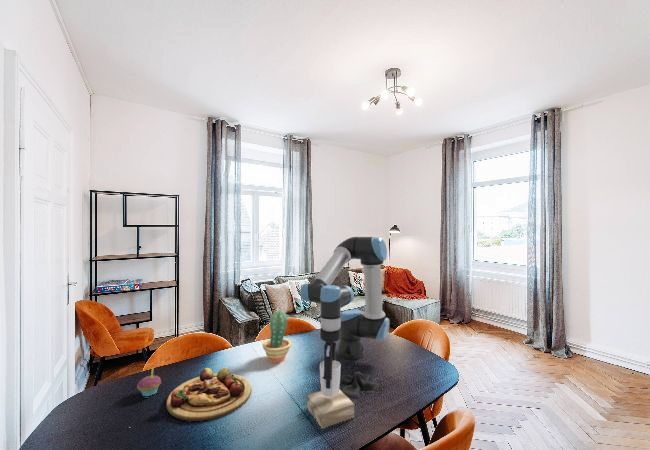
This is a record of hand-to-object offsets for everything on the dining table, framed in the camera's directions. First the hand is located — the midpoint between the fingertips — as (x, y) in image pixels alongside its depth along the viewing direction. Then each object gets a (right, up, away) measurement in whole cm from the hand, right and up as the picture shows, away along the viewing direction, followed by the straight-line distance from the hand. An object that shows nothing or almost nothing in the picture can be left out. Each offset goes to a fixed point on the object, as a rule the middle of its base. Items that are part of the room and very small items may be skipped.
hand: (330, 389), depth 107 cm
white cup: (0, -1, 0) cm, 1 cm away
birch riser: (0, -9, 0) cm, 9 cm away
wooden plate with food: (-48, -9, +10) cm, 50 cm away
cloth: (+14, -10, +19) cm, 25 cm away
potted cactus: (-27, -9, +44) cm, 53 cm away
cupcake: (-74, -9, +11) cm, 76 cm away
